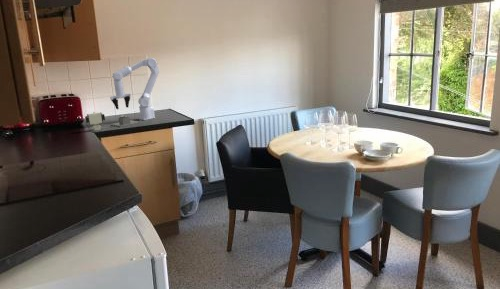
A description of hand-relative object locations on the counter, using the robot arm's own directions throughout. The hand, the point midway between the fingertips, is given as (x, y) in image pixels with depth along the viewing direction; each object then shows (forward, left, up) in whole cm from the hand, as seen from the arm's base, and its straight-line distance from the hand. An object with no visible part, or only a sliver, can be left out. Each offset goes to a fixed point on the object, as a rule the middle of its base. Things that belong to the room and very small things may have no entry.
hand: (122, 108), depth 287 cm
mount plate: (+4, +8, -10) cm, 13 cm away
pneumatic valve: (+24, +7, -10) cm, 27 cm away
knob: (+5, +10, -9) cm, 14 cm away
